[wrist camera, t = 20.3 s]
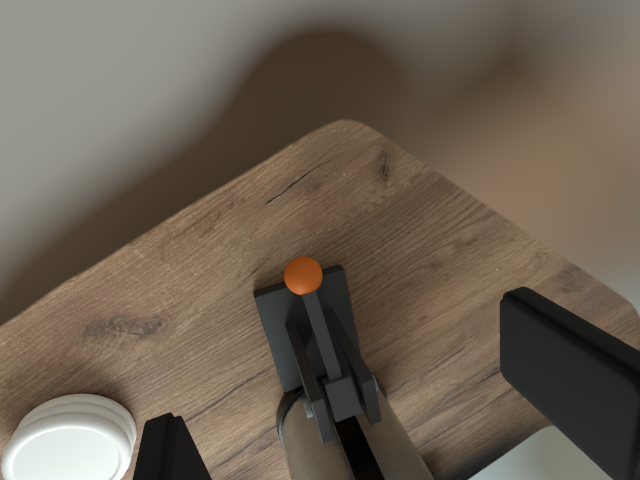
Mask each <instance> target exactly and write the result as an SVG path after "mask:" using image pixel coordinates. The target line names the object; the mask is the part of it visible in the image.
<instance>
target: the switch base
mask: <svg viewBox="0 0 640 480" xmlns="http://www.w3.org/2000/svg"><path fill="white" fill-rule="evenodd" d="M253 294H254V298H255V301H256V304H257V308H258V311H259V314H260V317H261V320H262V323H263V327H264V330H265V333H266V336H267V339H268V343H269V346H270V349H271V352H272V355H273V358H274V362H275V365H276V368H277V371H278V374H279V377H280V381H281V384H282V387H283V390H284V392H287V391H290V390H293V389H295V388H298V387H301V386H303V387H304V390H305V393H306V396H307V398H306V399H303V400H302V401H303V405H304V408H305V411H306V415H307V418H310V417H314V420H315V423H316V426H317V430H318V433H319V436H320V439H321V442H322V444H325V443H327V442H330V441H332V440H334V436H333V432H332V428H331V424H330V420H329V417H328V413H327V409H326V405H325V401H324V398H323V395H322V392H321V390H320V387H319V384H318V382H317V379H316V378H317V377H319V376H322V375H324V374H326V372H325V368H324V365H323V362H322V359H321V355H320V352H319V349H318V346H317V342H316V339H315V336H314V333H313V329H312V326H311V323H310V320H309V316H308V313H307V310H306V307H305V304H304V300H303V297H302V295H299V294H296V293H294V292H292V291H291V290H290V289H289V288H288V287H287V285H286V283H285V282H283V283H280V284H277V285H274V286H270V287H267V288H264V289H261V290H258V291H254V292H253ZM316 294H317V297H318V300H319V303H320V306H321V310H322V313H323V316H324V319H325V322H326V325H327V329H328V332H329V335H330V338H331V341H332V345H333V348H334V351H335V354H336V357H337V360H338V364H339V367H340V370H341V371H345V372H346V373H348V374H349V375H350V376H351V378H352V381H353V384H354V387H355V391H356V394H357V397H358V400H359V403H360V405H361V407H362V409H363V411H364V413H365V415H366V417H367V419H368V421H369V423H370V425H373V424H375V423H378V422H380V421H382V418H381V413H380V407H379V402H378V396H377V391H378V385H377V382H376V379H375V377H374V376H373V374H371V373H370V371H369V369H368V367H367V366H366V364H365V362H364V361H363V359H362V357H361V353H360V348H359V343H358V338H357V333H356V328H355V323H354V317H353V312H352V307H351V302H350V297H349V292H348V287H347V281H346V276H345V271H344V269H343V267H342V266H341V265H338V266H334V267H331V268H328V269H325V270H322V282H321V284H320V286H319V287H318V289H317V290H316Z"/></svg>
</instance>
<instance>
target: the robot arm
mask: <svg viewBox="0 0 640 480" xmlns="http://www.w3.org/2000/svg"><path fill="white" fill-rule="evenodd" d="M500 370H501V373H502V375H503V377H504V378H505V380H506V381H507V382H508V383H509V384H511V385H512V386H513V387H514V388H515V389H516V390H517V391H518V392H519V393H520V394H521V395H522V396H523V397H525V398H526V399H527V400H528V401H529V402H530V403H531V404H532V405H533V406H534V407H535V408H536V409H537V410H539V411H540V412H541V413H542V414H543V415H544V416H545V417H546V418H547V419H548V420H549V421H550V422H551V423H553V424H554V425H555V426H556V427H557V428H558V429H559V430H560V431H561V432H562V433H563V434H564V435H565V436H567V437H568V438H569V439H570V440H571V441H572V442H573V443H574V444H575V445H576V446H577V447H578V448H579V449H581V450H582V451H583V452H584V453H585V454H586V455H587V456H588V457H589V458H590V459H591V460H592V461H593V462H595V463H596V464H597V465H598V466H599V467H600V468H601V469H602V470H603V471H604V472H605V473H606V474H608V475H609V476H610V477H611V478H612V479H613V480H640V351H638V350H636V349H635V348H633V347H631V346H629V345H628V344H626V343H624V342H622V341H621V340H619V339H617V338H615V337H614V336H612V335H610V334H608V333H607V332H605V331H603V330H601V329H600V328H598V327H596V326H594V325H593V324H591V323H589V322H587V321H586V320H584V319H582V318H580V317H579V316H577V315H575V314H573V313H572V312H570V311H568V310H566V309H564V308H563V307H561V306H559V305H557V304H556V303H554V302H552V301H550V300H549V299H547V298H545V297H543V296H542V295H540V294H538V293H536V292H535V291H533V290H531V289H529V288H527V287H520V288H517V289H514V290H511V291H509V292H506V293H505V294H504V295H503V299H502V300H501V301H500ZM133 480H212V479H211V477H210V475H209V473H208V471H207V468H206V466H205V464H204V462H203V460H202V458H201V456H200V454H199V452H198V450H197V447H196V445H195V443H194V441H193V439H192V437H191V435H190V433H189V431H188V429H187V427H186V424H185V422H184V420H183V418H182V417H181V416H177V417H174V415H173V414H172V413H167V414H164V415H161V416H159V417H156V418H153V419H150V420H147V421H146V423H145V425H144V430H143V434H142V439H141V443H140V448H139V453H138V457H137V462H136V467H135V471H134V476H133Z"/></svg>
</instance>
